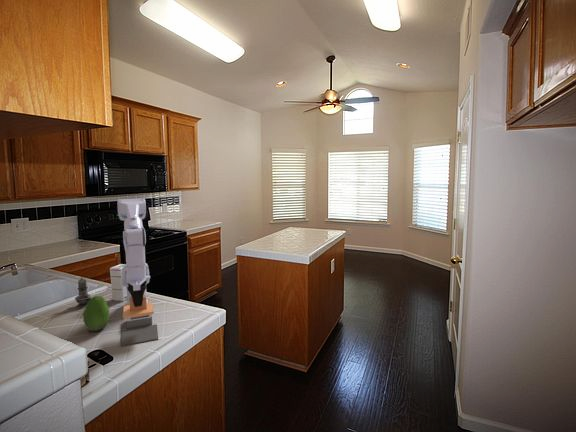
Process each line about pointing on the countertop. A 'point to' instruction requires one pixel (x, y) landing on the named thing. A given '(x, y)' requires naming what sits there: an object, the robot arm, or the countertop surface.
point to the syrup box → (117, 283)
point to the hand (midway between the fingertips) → (138, 304)
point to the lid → (138, 309)
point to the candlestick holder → (82, 294)
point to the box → (139, 321)
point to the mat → (139, 335)
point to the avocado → (96, 313)
